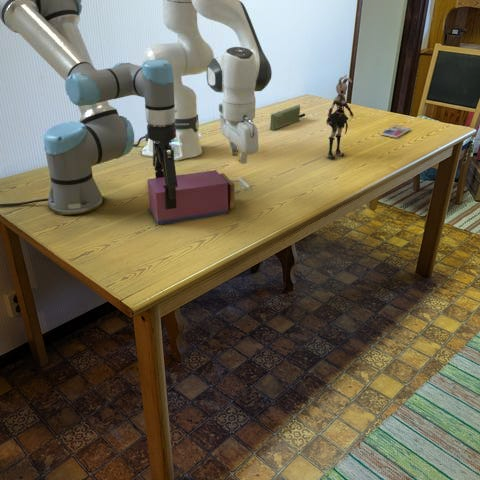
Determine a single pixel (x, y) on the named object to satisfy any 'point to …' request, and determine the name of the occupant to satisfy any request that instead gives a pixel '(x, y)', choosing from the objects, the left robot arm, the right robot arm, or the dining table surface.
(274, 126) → the handheld radio
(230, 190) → the drawer
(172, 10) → the right robot arm
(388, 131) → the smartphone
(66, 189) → the left robot arm
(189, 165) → the dining table surface
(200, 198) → the magenta elongated box
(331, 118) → the figurine
